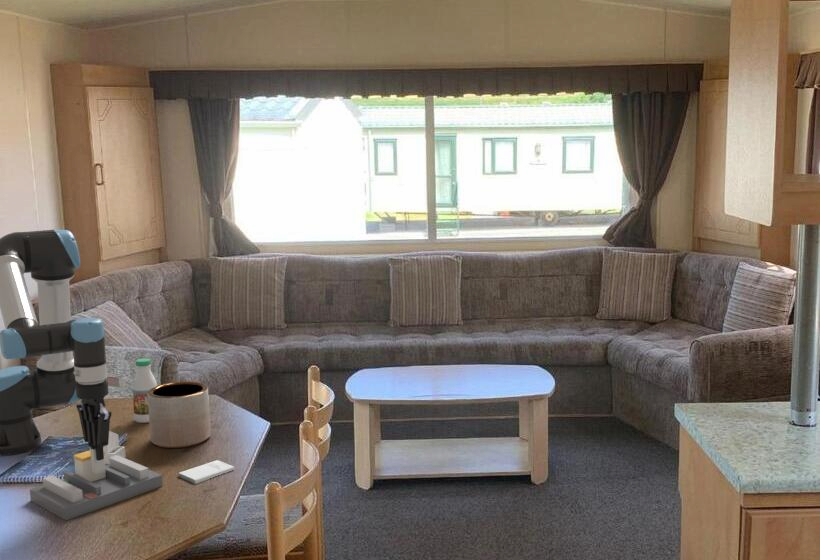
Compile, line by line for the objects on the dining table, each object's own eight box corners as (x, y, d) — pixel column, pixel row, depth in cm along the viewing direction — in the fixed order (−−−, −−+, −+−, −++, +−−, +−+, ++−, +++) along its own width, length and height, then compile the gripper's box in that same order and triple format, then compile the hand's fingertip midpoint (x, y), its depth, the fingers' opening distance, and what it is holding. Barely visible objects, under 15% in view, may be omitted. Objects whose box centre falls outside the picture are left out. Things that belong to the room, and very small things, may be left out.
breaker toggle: (75, 480, 211) (73, 455, 210) (98, 473, 216) (96, 448, 215) (83, 484, 209) (81, 458, 208) (106, 477, 213) (104, 452, 212)
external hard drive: (178, 478, 222) (216, 464, 231) (195, 485, 216) (234, 471, 225) (177, 472, 221) (216, 459, 230) (195, 480, 216) (234, 466, 225)
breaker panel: (30, 500, 207) (28, 480, 206) (125, 469, 227) (123, 450, 226) (66, 520, 196) (64, 498, 195) (162, 486, 215) (161, 466, 214)
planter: (215, 444, 245) (212, 393, 243) (153, 453, 239) (149, 400, 237) (206, 426, 262) (204, 378, 259) (148, 434, 255) (144, 385, 253)
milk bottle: (134, 417, 272) (130, 358, 269) (159, 414, 274) (155, 356, 271) (134, 424, 265) (130, 363, 262) (159, 421, 267) (155, 361, 264)
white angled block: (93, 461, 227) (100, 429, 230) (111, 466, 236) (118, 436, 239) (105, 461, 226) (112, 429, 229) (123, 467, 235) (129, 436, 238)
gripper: (64, 379, 207) (71, 469, 211) (90, 388, 199) (97, 482, 203) (92, 373, 213) (98, 460, 216) (119, 381, 204) (125, 472, 208)
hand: (98, 470), depth 209 cm, fingers closed
